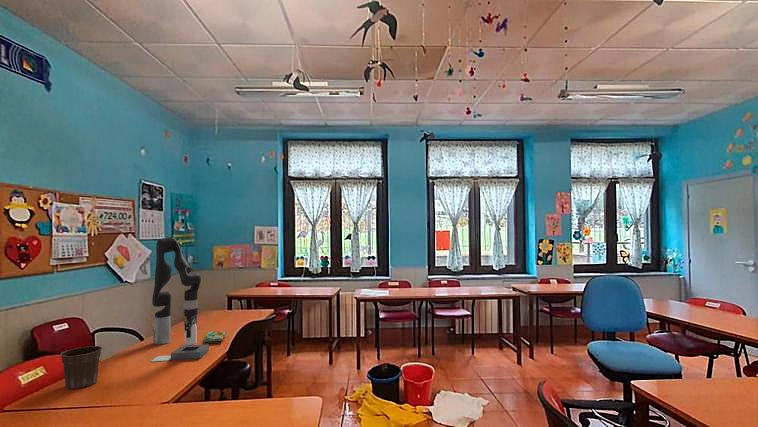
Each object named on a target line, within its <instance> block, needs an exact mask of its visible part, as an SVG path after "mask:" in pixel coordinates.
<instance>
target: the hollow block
mask: <svg viewBox="0 0 758 427" xmlns="http://www.w3.org/2000/svg"><path fill="white" fill-rule="evenodd" d="M209 351H210V343H208V344H206V343H205V344H194V345H189V346H187V345H185V344H184V345H180V346H179V347H177V349H175V350H174V351H172V352H171V353H170V356H171V359H170V361H172V362H174V361H175V362H176V361H188V360H189V361H190V360H191V361H192V360H201V359H202V358H203V357H204V356H205V355H206V354H207V353H208V352H209Z"/></svg>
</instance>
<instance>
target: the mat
mask: <svg viewBox="0 0 758 427" xmlns="http://www.w3.org/2000/svg"><path fill="white" fill-rule="evenodd" d="M160 361H161V362H168V361H171V355H158V356H156V357H154V358H153V359H152V360H151V361H150V363H155V362H156V363H158V362H160Z"/></svg>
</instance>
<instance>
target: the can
mask: <svg viewBox="0 0 758 427" xmlns="http://www.w3.org/2000/svg"><path fill="white" fill-rule="evenodd" d="M197 325H198V324H197ZM197 325H196V323H193V325H192V327H191V337H190V338H187V337H186V331H185V330H184V345H187V346H189V345H197V341H198V340H197V338H198V335H197V334H198V333H197V332H198V329H197V328H198V327H197ZM187 329H188V328H187Z"/></svg>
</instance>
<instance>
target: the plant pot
mask: <svg viewBox="0 0 758 427" xmlns="http://www.w3.org/2000/svg"><path fill="white" fill-rule="evenodd" d="M102 350H103V347H102V346H98V345H89V346H82V347H76V348H72V349H69V350H65V351H62V352H61V353H60V354H59V356H60V357H61V364H62V366H63V374H64V382H65V388H66V389H67V390H78V389H83V388H85V387H90V386H92V385H94V384H96V383H97V382H98V376H99V364H100V357H101V355H102V353H101V352H102Z"/></svg>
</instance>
